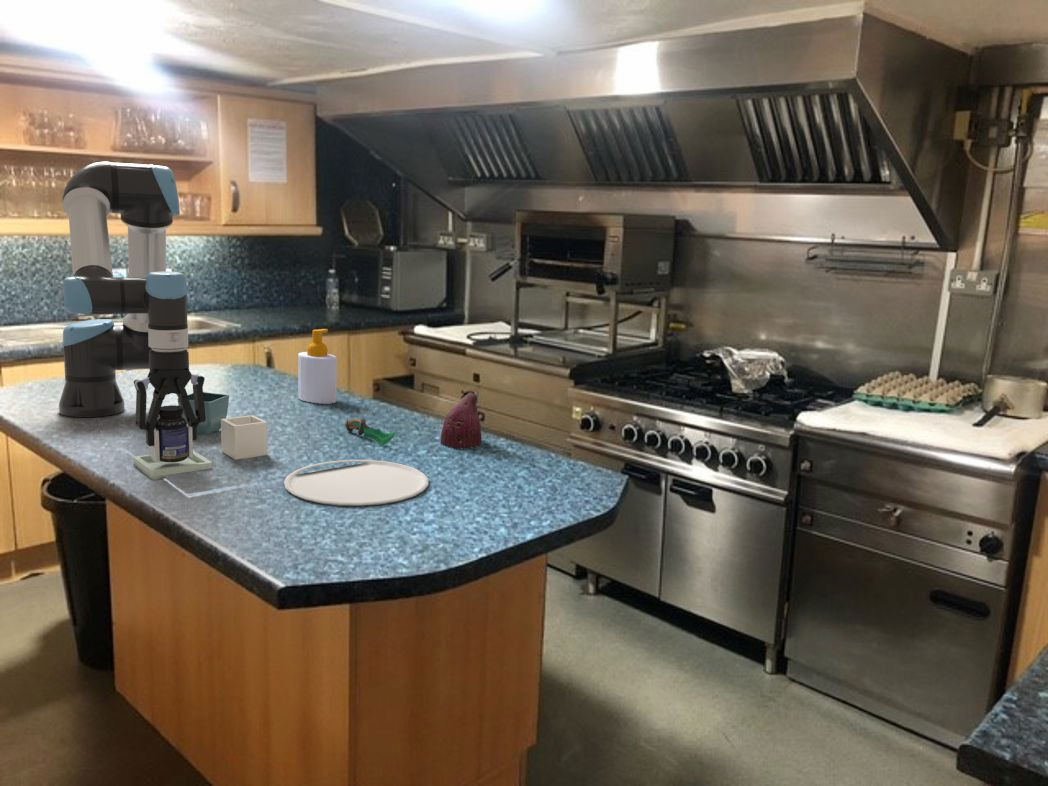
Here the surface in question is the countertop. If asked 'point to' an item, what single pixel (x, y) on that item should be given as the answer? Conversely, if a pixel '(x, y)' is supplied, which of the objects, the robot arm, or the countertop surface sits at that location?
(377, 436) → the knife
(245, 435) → the open cream box
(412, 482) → the plate
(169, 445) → the pill bottle
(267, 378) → the countertop surface
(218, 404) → the flower pot
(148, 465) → the tray
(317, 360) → the soap bottle
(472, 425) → the vegetable
